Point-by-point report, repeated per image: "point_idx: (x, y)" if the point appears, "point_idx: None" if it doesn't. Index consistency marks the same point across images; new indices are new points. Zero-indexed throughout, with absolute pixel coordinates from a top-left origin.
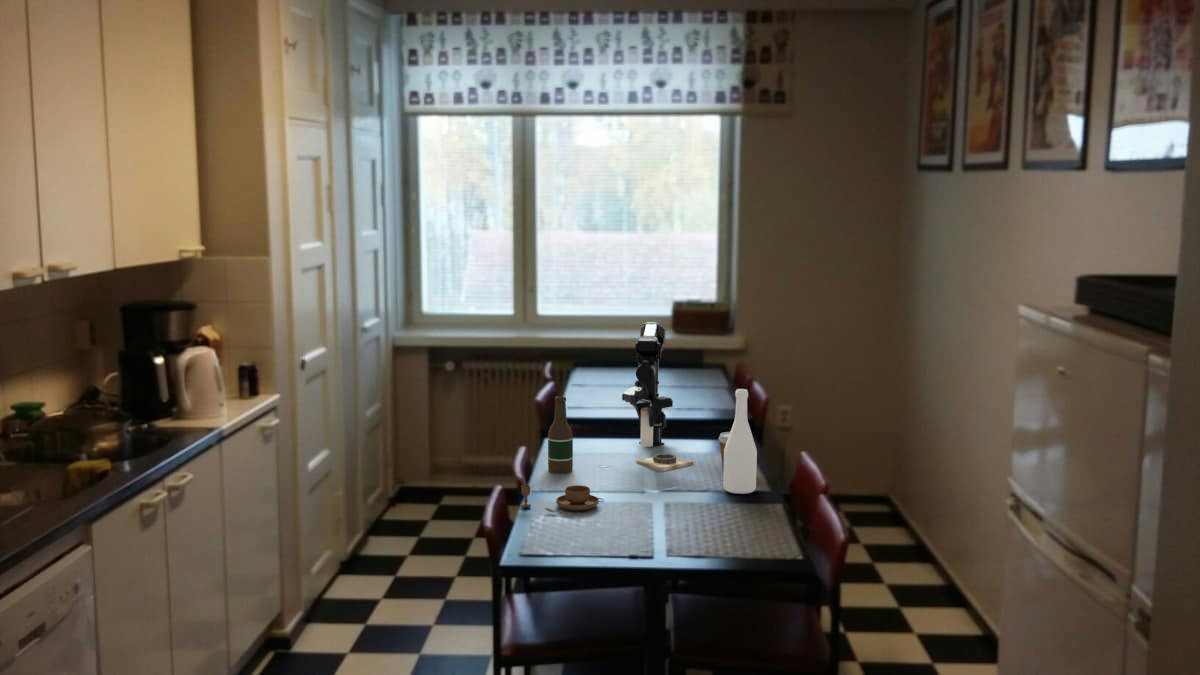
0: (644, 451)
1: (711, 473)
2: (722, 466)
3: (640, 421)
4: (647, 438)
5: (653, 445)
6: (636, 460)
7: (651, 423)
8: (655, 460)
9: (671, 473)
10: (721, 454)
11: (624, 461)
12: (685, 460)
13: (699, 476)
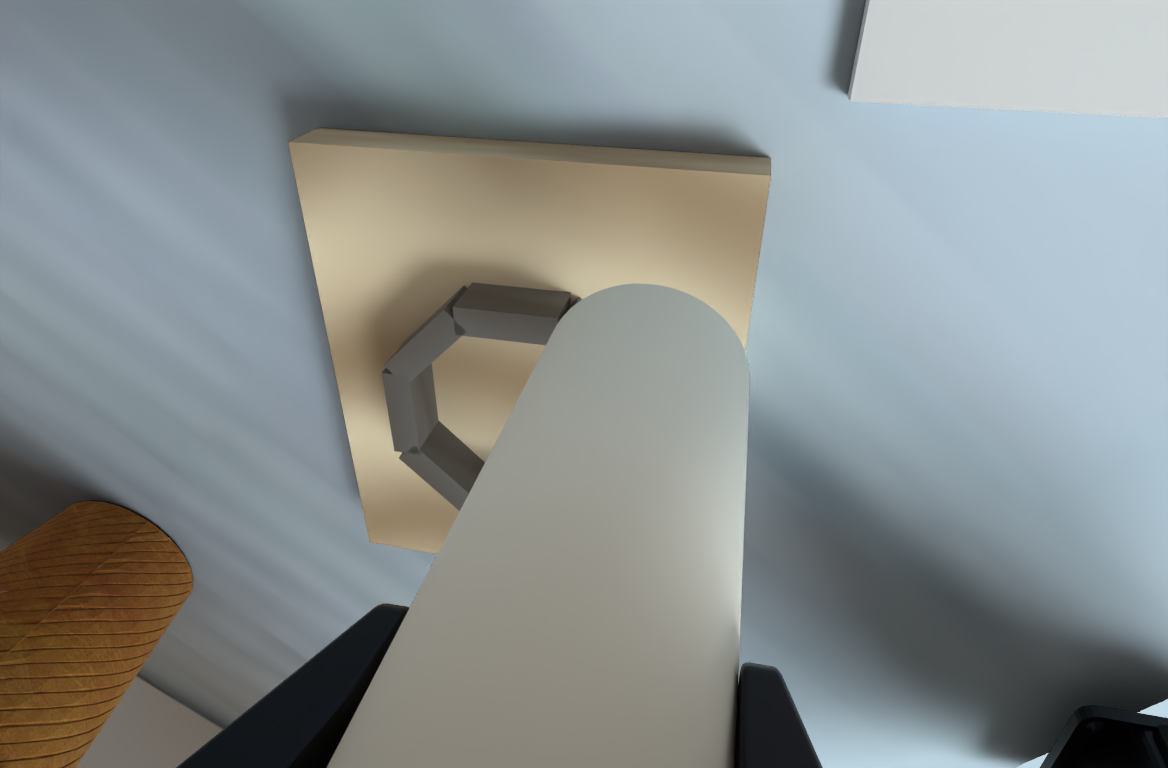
0: (1117, 630)
1: (138, 444)
2: (115, 546)
3: (774, 736)
4: (521, 397)
5: (1067, 735)
6: (763, 174)
7: (310, 682)
8: (530, 299)
9: (247, 201)
10: (24, 614)
11: (1033, 166)
12: (433, 529)
13: (76, 315)
